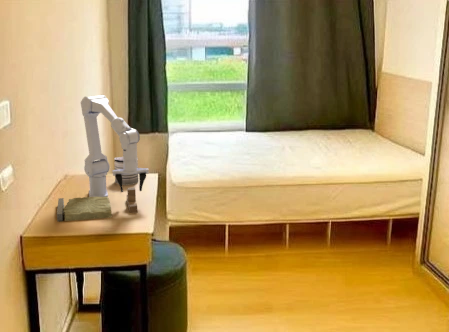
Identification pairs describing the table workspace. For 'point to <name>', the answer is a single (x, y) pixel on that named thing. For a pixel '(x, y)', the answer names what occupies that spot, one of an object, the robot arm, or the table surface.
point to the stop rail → (60, 209)
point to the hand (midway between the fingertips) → (131, 191)
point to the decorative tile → (87, 208)
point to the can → (126, 179)
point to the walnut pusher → (131, 200)
